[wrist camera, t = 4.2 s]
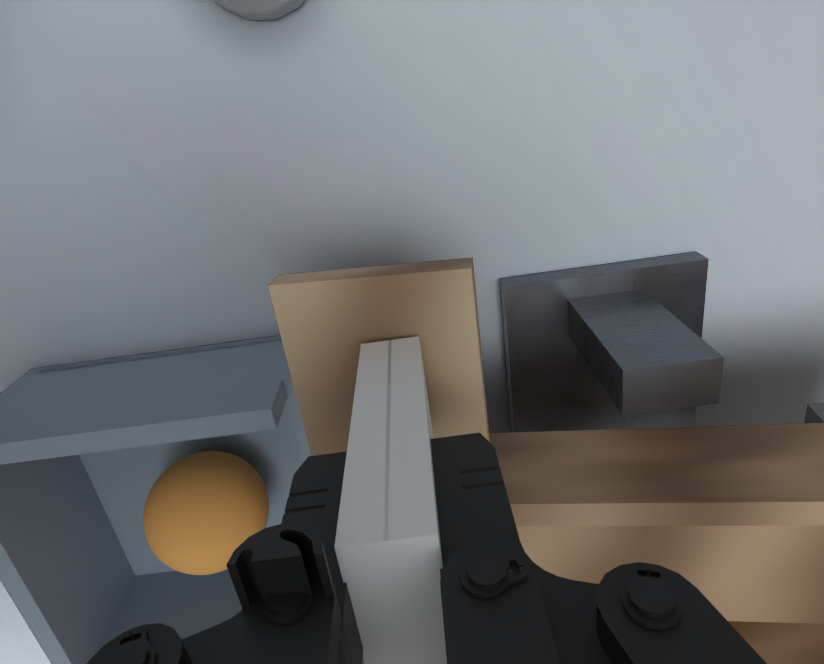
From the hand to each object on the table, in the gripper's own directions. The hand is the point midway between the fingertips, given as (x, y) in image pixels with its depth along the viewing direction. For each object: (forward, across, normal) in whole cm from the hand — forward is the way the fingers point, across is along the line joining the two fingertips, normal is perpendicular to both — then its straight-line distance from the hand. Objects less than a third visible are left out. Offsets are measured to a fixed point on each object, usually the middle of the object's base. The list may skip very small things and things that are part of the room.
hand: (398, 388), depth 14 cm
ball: (+7, -9, -8) cm, 14 cm away
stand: (+10, +8, -8) cm, 15 cm away
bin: (+10, -10, -8) cm, 16 cm away
